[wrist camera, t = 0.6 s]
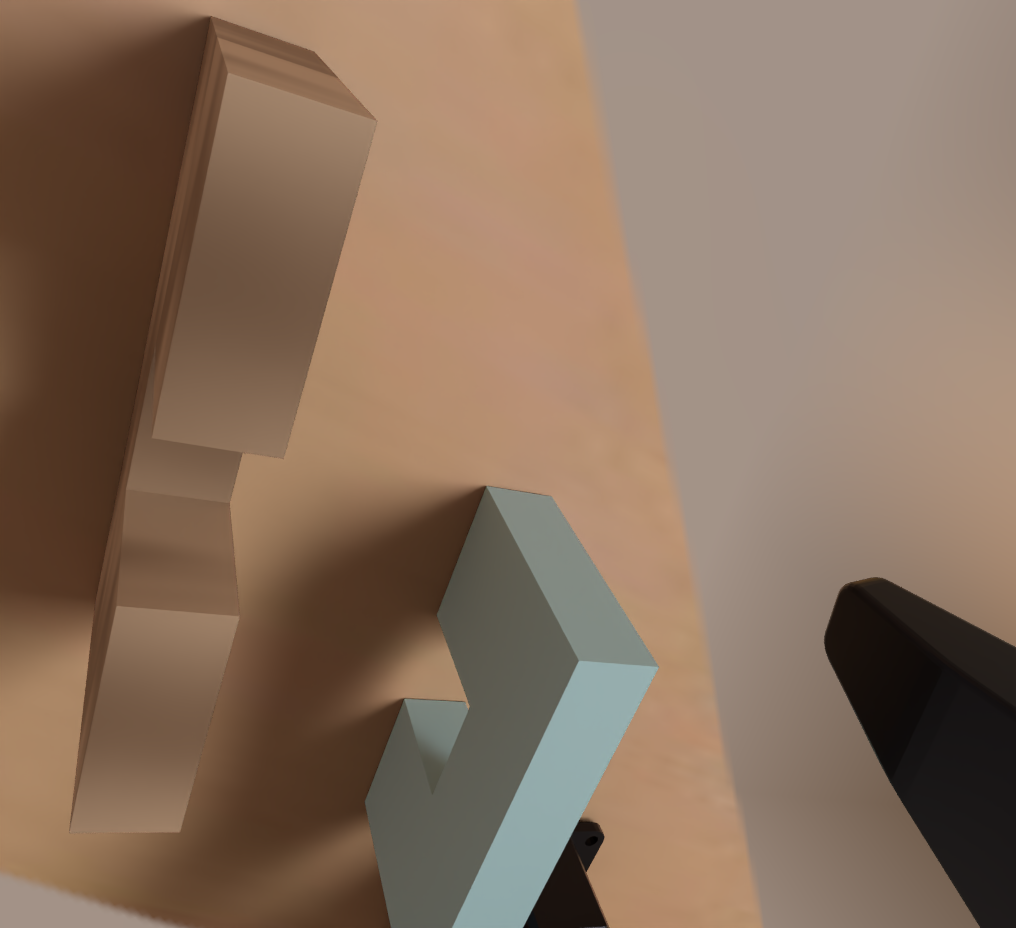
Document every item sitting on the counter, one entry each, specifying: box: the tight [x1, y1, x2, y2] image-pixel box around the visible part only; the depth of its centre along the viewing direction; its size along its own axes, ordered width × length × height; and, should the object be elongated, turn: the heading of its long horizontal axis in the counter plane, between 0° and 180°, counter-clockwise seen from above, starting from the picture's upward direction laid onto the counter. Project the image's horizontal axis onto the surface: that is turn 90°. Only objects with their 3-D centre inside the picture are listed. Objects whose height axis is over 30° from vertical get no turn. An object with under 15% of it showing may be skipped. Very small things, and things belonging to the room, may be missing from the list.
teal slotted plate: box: [365, 486, 659, 928], centre depth 25 cm, size 12×2×7 cm, turn 159°
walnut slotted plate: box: [69, 16, 377, 833], centre depth 18 cm, size 14×2×7 cm, turn 159°
